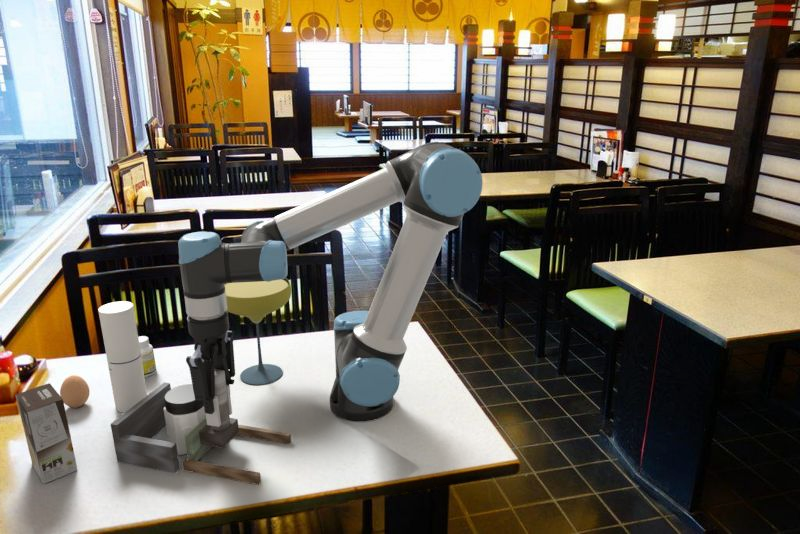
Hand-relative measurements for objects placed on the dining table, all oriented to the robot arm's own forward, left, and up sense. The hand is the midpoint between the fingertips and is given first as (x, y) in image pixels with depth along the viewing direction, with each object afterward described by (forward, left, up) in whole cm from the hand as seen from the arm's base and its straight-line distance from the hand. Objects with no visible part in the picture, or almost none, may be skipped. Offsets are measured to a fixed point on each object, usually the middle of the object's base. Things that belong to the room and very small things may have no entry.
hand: (219, 418), depth 120 cm
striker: (+1, 0, -8) cm, 8 cm away
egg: (+43, -7, -8) cm, 44 cm away
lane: (+4, 0, -8) cm, 9 cm away
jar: (+8, -1, -8) cm, 12 cm away
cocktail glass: (+8, -32, -8) cm, 34 cm away
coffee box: (+30, +13, -8) cm, 34 cm away
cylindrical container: (+31, -11, -8) cm, 34 cm away
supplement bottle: (+38, -25, -8) cm, 46 cm away
